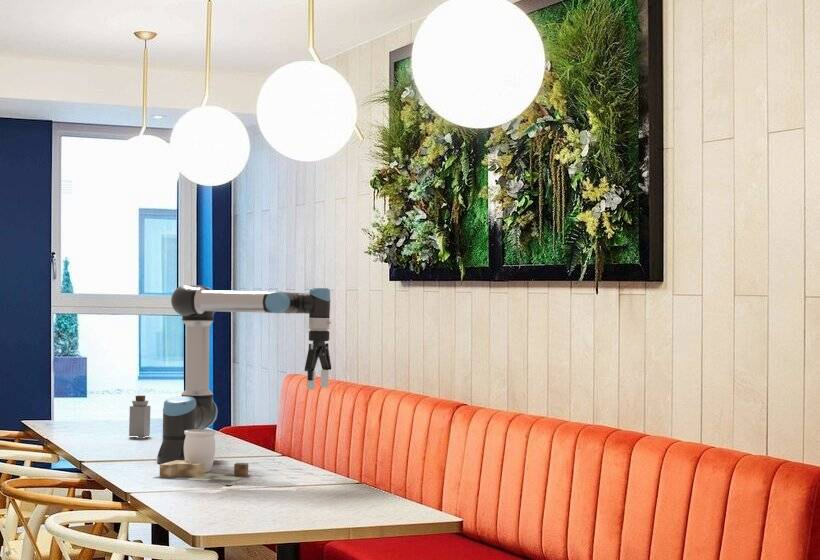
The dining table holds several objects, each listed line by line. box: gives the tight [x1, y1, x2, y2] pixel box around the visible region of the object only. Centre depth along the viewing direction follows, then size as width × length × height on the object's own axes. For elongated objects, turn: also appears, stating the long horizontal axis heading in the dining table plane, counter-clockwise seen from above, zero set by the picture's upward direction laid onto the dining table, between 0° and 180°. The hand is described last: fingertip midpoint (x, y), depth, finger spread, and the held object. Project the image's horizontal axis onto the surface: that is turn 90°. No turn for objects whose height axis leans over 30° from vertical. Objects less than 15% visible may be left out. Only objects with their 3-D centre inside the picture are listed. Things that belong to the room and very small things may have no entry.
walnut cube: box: [233, 462, 249, 478], centre depth 367 cm, size 4×4×4 cm
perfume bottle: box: [128, 394, 151, 437], centre depth 484 cm, size 7×7×18 cm
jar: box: [184, 428, 217, 472], centre depth 378 cm, size 11×10×15 cm
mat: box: [153, 471, 253, 488], centre depth 363 cm, size 27×18×1 cm, turn 74°
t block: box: [159, 460, 205, 478], centre depth 365 cm, size 12×12×4 cm
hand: (317, 388), depth 405 cm, fingers open, 13 cm apart
